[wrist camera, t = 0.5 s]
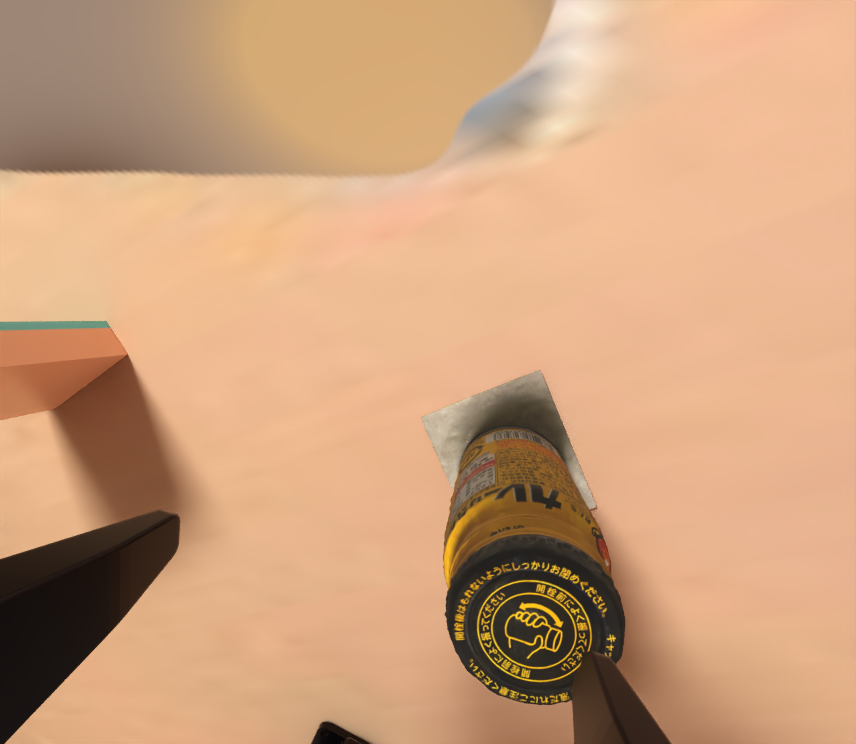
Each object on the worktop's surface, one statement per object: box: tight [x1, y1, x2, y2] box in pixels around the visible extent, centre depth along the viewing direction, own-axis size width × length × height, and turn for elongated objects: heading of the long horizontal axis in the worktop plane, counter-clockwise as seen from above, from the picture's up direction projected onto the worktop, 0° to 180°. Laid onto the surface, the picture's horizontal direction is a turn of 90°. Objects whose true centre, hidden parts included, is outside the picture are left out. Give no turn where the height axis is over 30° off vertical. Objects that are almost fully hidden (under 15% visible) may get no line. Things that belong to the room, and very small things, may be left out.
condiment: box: [421, 370, 625, 705], centre depth 17 cm, size 7×8×12 cm
